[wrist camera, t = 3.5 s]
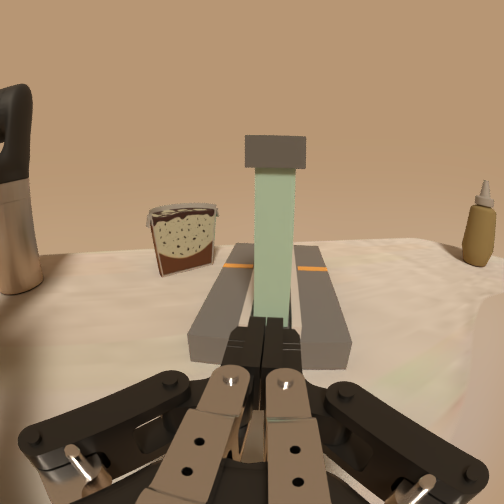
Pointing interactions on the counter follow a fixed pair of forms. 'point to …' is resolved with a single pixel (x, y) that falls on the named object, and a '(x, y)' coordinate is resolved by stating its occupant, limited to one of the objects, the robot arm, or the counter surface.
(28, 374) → the counter surface
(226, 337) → the slider console
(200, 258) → the food container
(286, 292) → the fader tab
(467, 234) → the squeeze bottle
